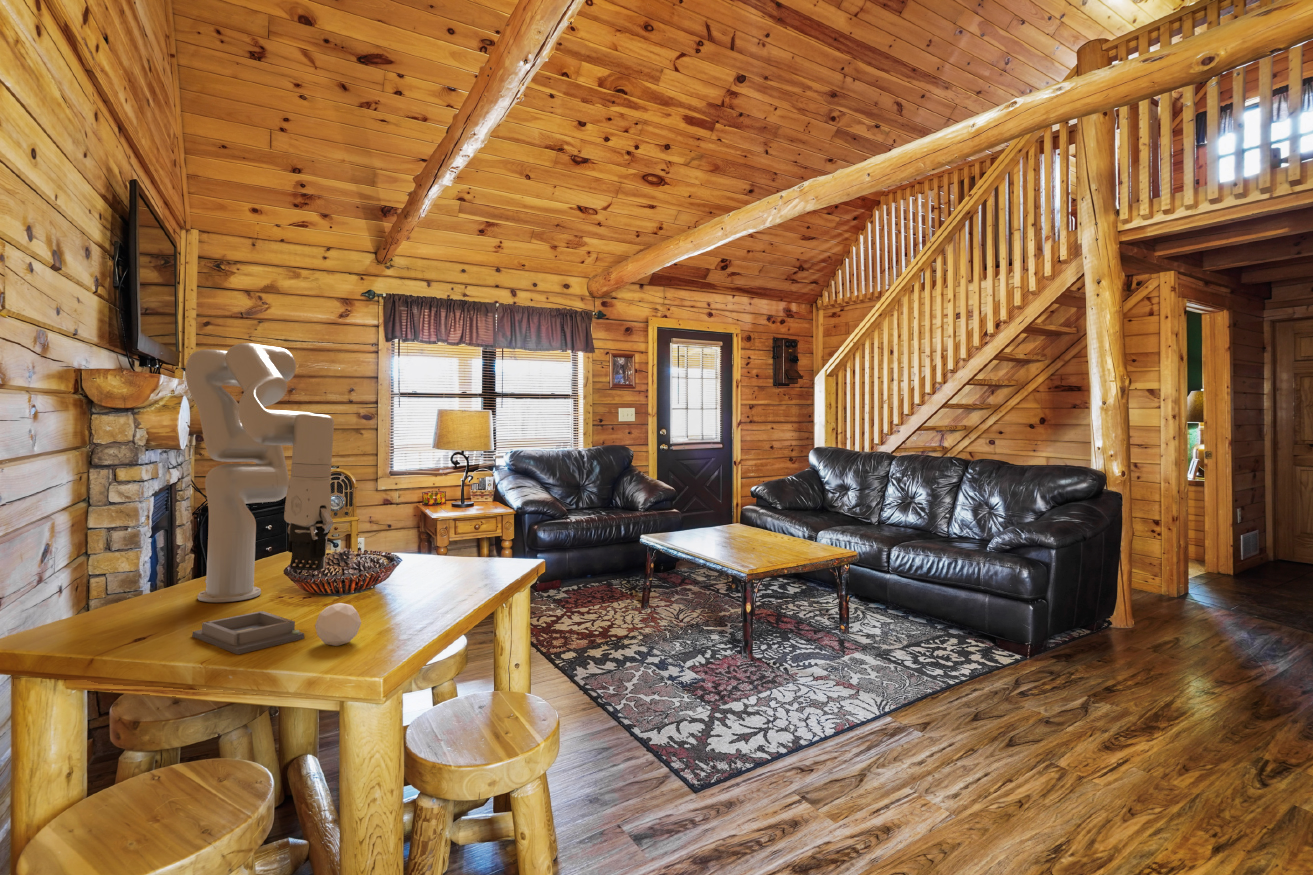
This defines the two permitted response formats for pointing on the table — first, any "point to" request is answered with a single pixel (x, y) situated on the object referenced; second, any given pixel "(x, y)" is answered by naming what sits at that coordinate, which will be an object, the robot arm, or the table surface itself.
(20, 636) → the table surface
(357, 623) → the geometric ball
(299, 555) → the battery charger
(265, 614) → the charging dock
